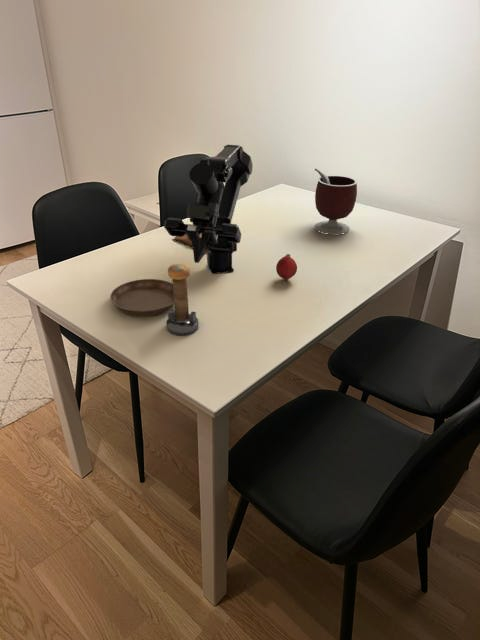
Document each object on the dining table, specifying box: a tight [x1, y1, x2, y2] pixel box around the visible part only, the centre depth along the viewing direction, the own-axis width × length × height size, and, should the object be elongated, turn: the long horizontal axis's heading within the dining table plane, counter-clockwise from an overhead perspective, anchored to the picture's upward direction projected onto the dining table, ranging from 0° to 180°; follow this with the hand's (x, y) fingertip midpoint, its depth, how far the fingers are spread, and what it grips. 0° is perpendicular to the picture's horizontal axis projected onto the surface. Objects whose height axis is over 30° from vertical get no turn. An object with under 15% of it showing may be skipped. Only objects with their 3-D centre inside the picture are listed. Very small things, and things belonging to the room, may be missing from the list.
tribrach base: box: [165, 308, 199, 337], centre depth 117 cm, size 8×8×4 cm
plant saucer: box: [110, 278, 174, 317], centre depth 127 cm, size 18×18×3 cm
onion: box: [275, 253, 298, 281], centre depth 138 cm, size 6×6×8 cm
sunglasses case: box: [171, 233, 209, 255], centre depth 162 cm, size 18×7×7 cm, turn 48°
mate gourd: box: [314, 167, 358, 234], centre depth 171 cm, size 16×14×20 cm
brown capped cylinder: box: [167, 263, 191, 321], centre depth 113 cm, size 5×5×13 cm
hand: (196, 262), depth 122 cm, fingers closed
